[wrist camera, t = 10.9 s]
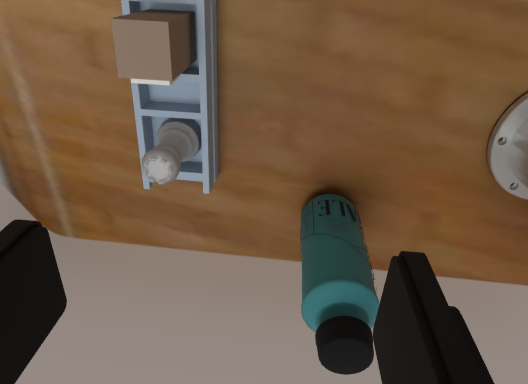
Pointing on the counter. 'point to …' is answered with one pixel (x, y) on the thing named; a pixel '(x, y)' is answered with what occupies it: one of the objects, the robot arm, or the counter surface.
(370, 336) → the beverage bottle
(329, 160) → the counter surface
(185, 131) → the rook chess piece
